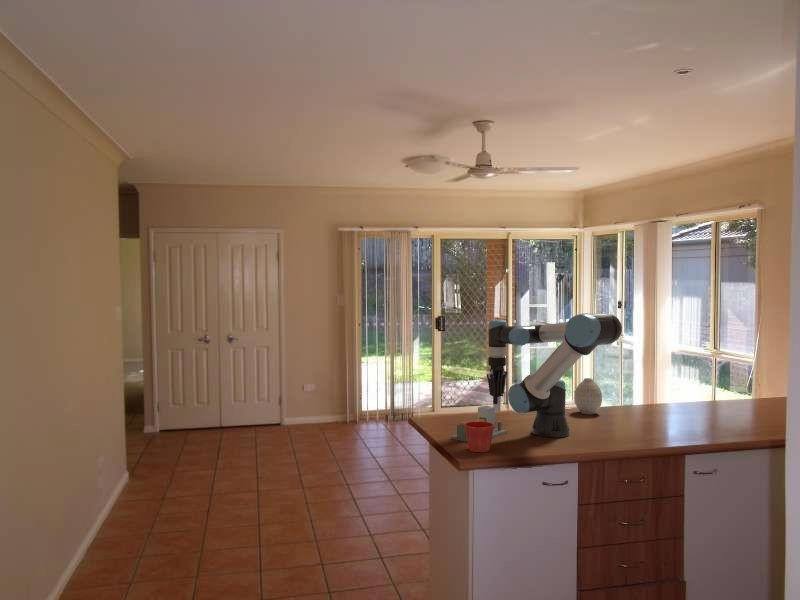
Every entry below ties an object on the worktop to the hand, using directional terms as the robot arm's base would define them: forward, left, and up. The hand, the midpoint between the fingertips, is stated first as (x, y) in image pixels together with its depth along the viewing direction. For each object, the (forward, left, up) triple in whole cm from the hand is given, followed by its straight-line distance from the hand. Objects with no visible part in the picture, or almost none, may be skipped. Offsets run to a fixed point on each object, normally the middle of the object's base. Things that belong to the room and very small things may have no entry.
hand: (496, 411), depth 271 cm
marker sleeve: (0, +8, -5) cm, 10 cm away
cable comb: (-1, +15, -8) cm, 17 cm away
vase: (-15, -57, -8) cm, 60 cm away
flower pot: (-13, +33, -8) cm, 36 cm away
